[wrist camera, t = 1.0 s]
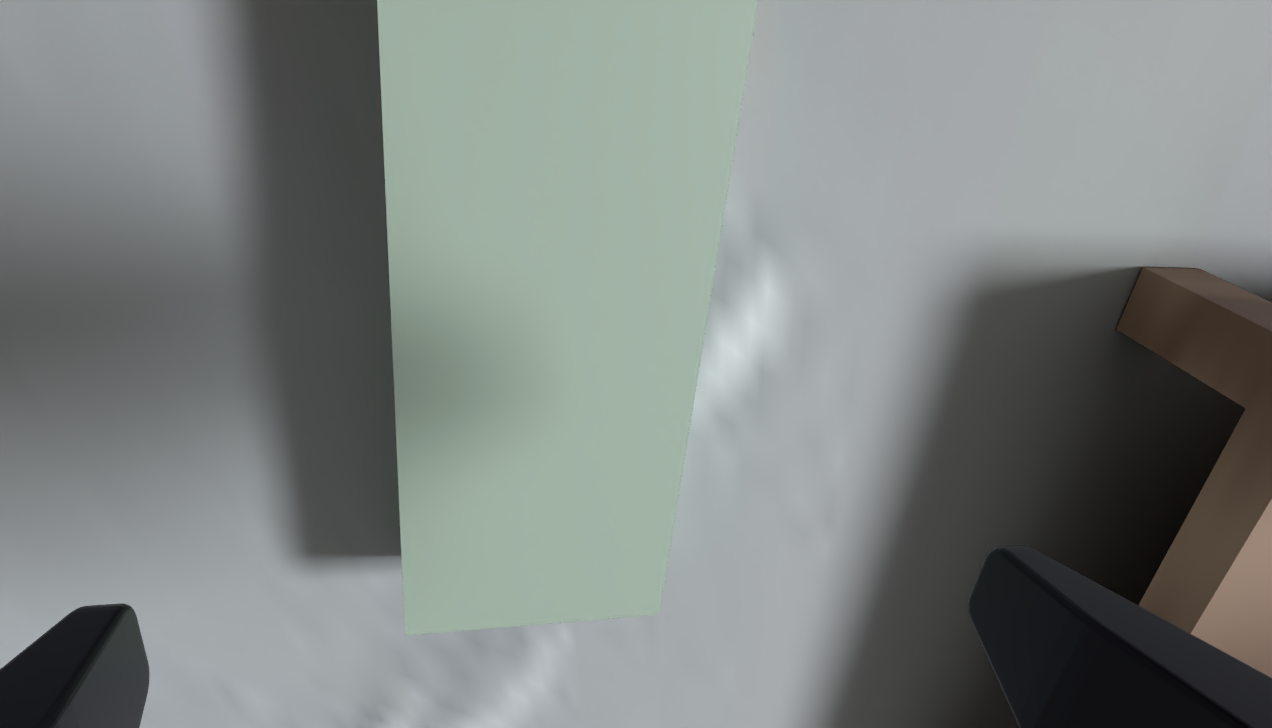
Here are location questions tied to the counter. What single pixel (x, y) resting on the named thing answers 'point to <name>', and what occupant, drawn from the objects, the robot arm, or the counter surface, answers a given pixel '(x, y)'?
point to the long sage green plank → (550, 291)
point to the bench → (1244, 473)
